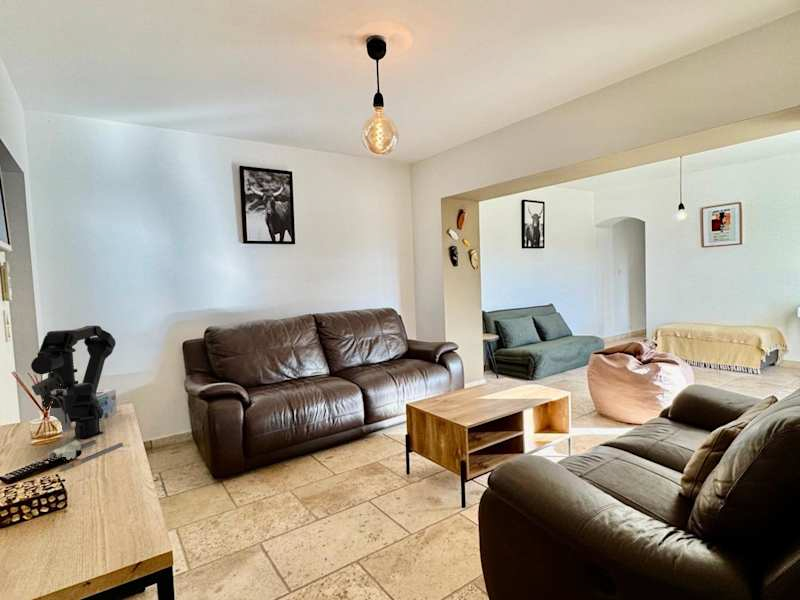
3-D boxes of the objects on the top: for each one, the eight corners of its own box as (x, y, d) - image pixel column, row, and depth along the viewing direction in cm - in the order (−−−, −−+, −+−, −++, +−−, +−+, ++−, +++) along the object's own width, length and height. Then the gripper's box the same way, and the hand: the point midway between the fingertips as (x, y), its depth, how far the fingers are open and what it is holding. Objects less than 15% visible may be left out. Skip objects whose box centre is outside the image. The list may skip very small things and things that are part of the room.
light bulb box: (100, 421, 165) (98, 395, 165) (83, 422, 165) (81, 396, 164) (118, 413, 176) (116, 388, 175) (102, 413, 176) (100, 389, 175)
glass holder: (49, 430, 158) (46, 391, 157) (93, 424, 162) (90, 387, 161) (37, 438, 149) (34, 397, 148) (83, 432, 153) (80, 393, 153)
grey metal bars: (93, 443, 142) (93, 438, 142) (123, 446, 138) (123, 441, 138) (31, 468, 124) (30, 463, 124) (63, 472, 120) (63, 467, 120)
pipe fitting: (67, 452, 126) (47, 449, 127) (67, 465, 126) (47, 461, 127) (90, 442, 134) (71, 439, 134) (89, 453, 134) (71, 450, 135)
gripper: (15, 372, 132) (19, 419, 133) (56, 374, 127) (60, 423, 128) (53, 365, 143) (56, 409, 144) (92, 366, 137) (96, 412, 138)
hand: (66, 413), depth 138 cm, fingers closed
